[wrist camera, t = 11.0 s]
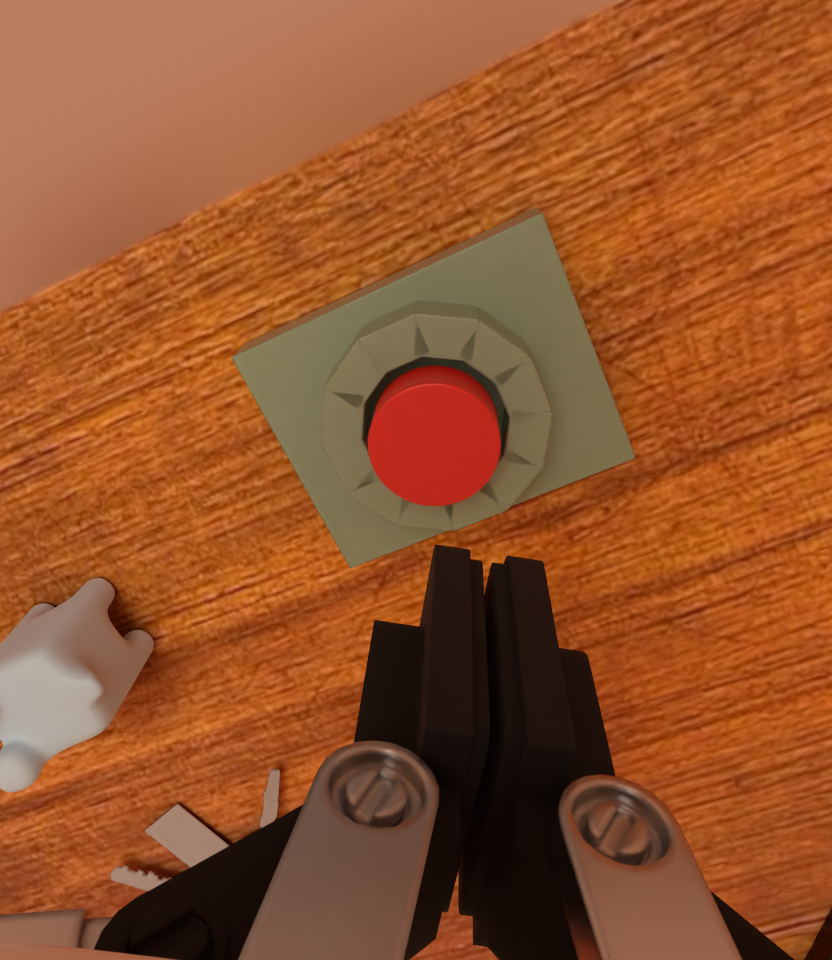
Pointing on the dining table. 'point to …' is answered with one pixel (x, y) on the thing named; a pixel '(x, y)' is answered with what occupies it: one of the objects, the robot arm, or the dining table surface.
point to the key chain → (191, 838)
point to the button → (434, 436)
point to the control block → (446, 342)
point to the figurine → (63, 680)
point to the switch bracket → (823, 943)
